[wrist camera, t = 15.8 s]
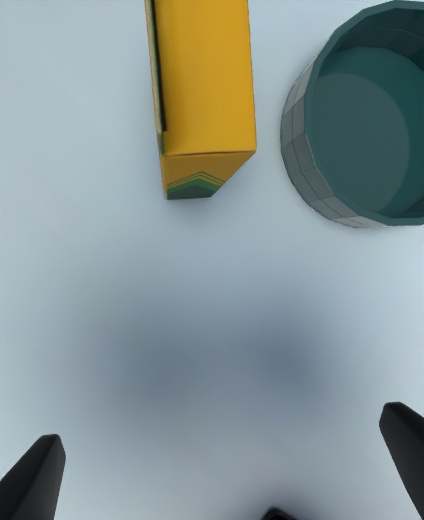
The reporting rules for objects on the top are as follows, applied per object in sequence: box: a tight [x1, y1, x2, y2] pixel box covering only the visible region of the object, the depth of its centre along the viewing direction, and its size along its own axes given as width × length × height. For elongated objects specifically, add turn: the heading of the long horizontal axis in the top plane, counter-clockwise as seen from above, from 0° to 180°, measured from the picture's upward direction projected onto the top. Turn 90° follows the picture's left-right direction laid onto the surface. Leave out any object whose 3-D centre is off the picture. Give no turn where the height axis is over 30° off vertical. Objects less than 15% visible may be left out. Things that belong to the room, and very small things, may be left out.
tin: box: [281, 0, 424, 228], centre depth 18 cm, size 11×11×4 cm
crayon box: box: [145, 0, 256, 200], centre depth 12 cm, size 7×3×12 cm, turn 4°
